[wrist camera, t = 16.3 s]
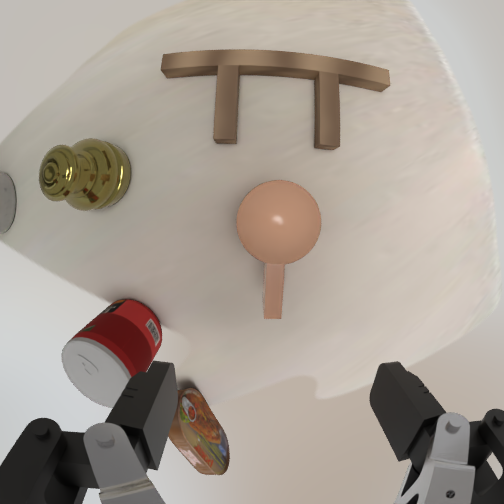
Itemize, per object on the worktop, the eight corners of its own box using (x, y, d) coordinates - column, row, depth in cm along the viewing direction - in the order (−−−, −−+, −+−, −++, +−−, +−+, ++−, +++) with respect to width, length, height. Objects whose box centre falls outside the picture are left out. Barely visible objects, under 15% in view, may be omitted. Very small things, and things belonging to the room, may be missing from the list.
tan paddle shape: (242, 183, 28) (237, 178, 19) (301, 185, 28) (323, 182, 19) (240, 287, 30) (235, 326, 21) (295, 289, 30) (311, 326, 21)
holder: (161, 145, 27) (152, 141, 24) (169, 63, 25) (163, 54, 22) (383, 157, 27) (393, 154, 24) (379, 77, 25) (388, 70, 22)
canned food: (119, 284, 30) (68, 324, 19) (175, 322, 31) (144, 378, 20) (100, 329, 31) (55, 374, 21) (150, 363, 32) (119, 419, 21)
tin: (232, 443, 35) (229, 484, 27) (214, 445, 36) (208, 486, 27) (191, 374, 33) (177, 419, 24) (170, 378, 33) (152, 421, 24)
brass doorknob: (91, 218, 28) (36, 231, 19) (73, 163, 27) (17, 159, 17) (141, 189, 28) (93, 191, 18) (120, 131, 26) (69, 112, 17)
